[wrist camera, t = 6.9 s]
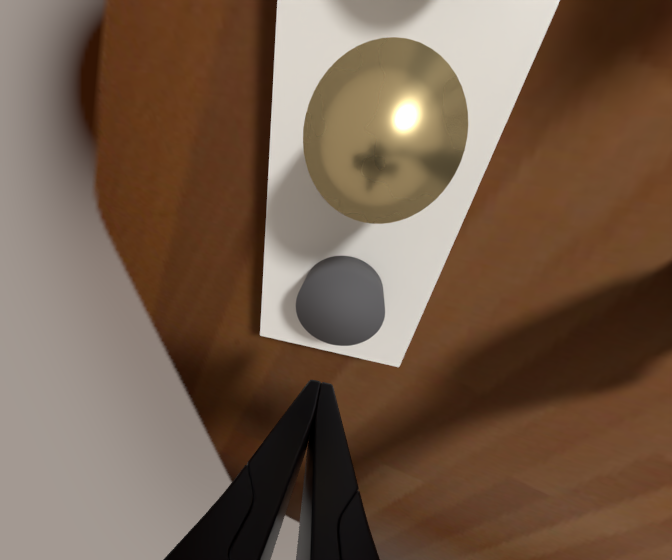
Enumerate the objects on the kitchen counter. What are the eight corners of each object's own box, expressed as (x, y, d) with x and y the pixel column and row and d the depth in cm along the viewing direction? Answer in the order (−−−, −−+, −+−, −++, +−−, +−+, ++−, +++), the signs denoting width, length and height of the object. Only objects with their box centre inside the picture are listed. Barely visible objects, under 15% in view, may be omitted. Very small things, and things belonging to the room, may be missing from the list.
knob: (371, 308, 19) (372, 353, 15) (308, 293, 19) (291, 335, 15) (390, 248, 16) (396, 283, 12) (318, 232, 17) (301, 261, 12)
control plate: (395, 338, 20) (398, 367, 18) (274, 311, 20) (259, 335, 18) (645, -292, 8) (785, -515, 5) (328, -350, 8) (307, -595, 5)
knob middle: (411, 207, 13) (431, 237, 9) (319, 187, 13) (295, 207, 9) (449, 92, 10) (501, 57, 6) (336, 68, 11) (315, 19, 6)
